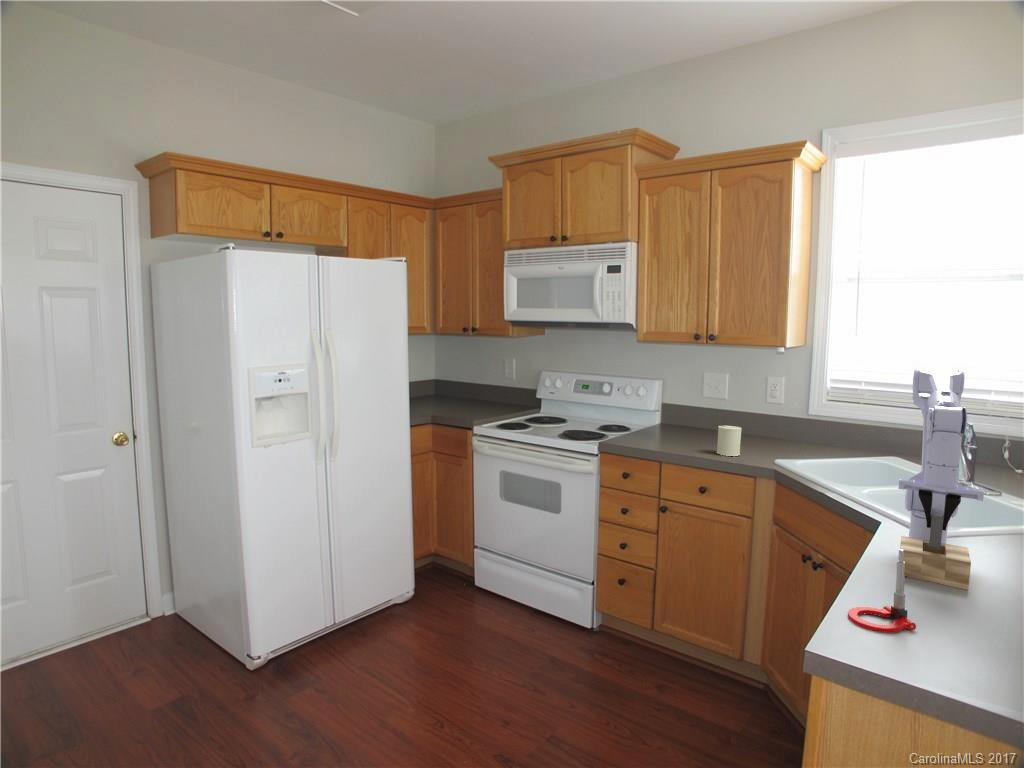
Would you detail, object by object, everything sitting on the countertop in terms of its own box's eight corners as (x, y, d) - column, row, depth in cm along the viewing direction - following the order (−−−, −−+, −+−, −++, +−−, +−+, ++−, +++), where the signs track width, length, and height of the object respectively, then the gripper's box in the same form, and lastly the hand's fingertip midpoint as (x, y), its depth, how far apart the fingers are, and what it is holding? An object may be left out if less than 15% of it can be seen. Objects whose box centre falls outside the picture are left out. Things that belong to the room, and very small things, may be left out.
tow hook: (867, 636, 104) (920, 633, 105) (870, 560, 103) (923, 558, 104) (837, 614, 112) (886, 611, 113) (839, 543, 111) (889, 541, 112)
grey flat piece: (928, 539, 135) (931, 507, 134) (939, 541, 134) (942, 509, 133) (928, 548, 129) (932, 515, 129) (940, 550, 128) (943, 516, 128)
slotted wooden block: (899, 559, 140) (901, 535, 139) (965, 572, 133) (967, 547, 133) (897, 574, 131) (899, 549, 130) (968, 589, 124) (971, 562, 124)
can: (722, 451, 264) (724, 423, 263) (743, 455, 258) (745, 426, 257) (712, 454, 257) (714, 425, 256) (733, 458, 251) (735, 428, 250)
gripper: (900, 461, 131) (894, 525, 132) (987, 472, 123) (980, 540, 124) (901, 456, 136) (896, 517, 138) (984, 466, 129) (978, 531, 130)
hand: (936, 528), depth 131 cm, fingers closed on grey flat piece, 2 cm apart
